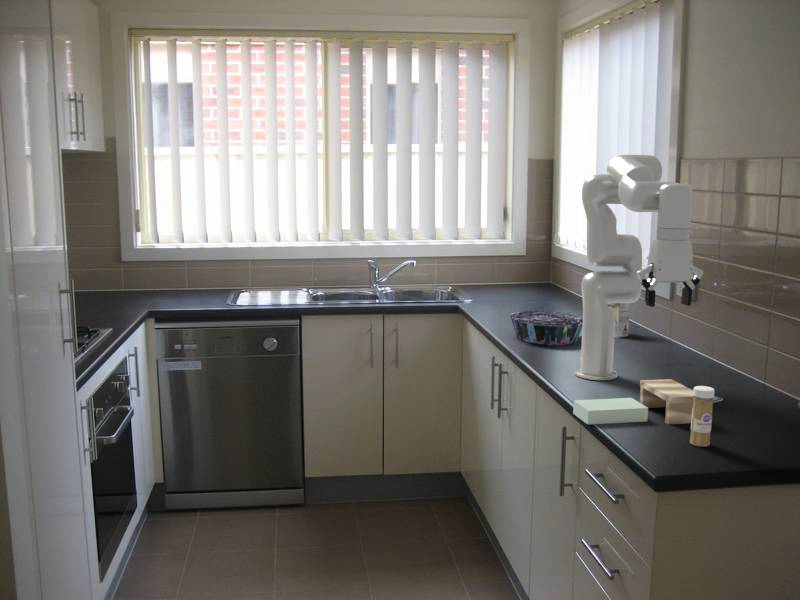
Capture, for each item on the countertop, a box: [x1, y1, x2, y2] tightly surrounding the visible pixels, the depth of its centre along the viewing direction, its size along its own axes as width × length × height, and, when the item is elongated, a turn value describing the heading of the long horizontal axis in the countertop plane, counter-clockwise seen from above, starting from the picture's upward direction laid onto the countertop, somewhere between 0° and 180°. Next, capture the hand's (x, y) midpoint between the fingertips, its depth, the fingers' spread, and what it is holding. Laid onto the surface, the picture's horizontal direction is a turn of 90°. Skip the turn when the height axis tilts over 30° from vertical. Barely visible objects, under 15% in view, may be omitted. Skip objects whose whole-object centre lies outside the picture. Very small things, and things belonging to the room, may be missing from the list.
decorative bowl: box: [508, 310, 583, 347], centre depth 304 cm, size 26×28×10 cm
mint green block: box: [572, 397, 649, 425], centre depth 215 cm, size 9×16×4 cm, turn 102°
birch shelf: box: [639, 378, 694, 425], centre depth 218 cm, size 16×9×7 cm, turn 12°
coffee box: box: [608, 303, 631, 339], centre depth 312 cm, size 9×6×16 cm
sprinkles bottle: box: [689, 385, 716, 447], centre depth 195 cm, size 5×5×13 cm
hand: (668, 305), depth 207 cm, fingers open, 9 cm apart
